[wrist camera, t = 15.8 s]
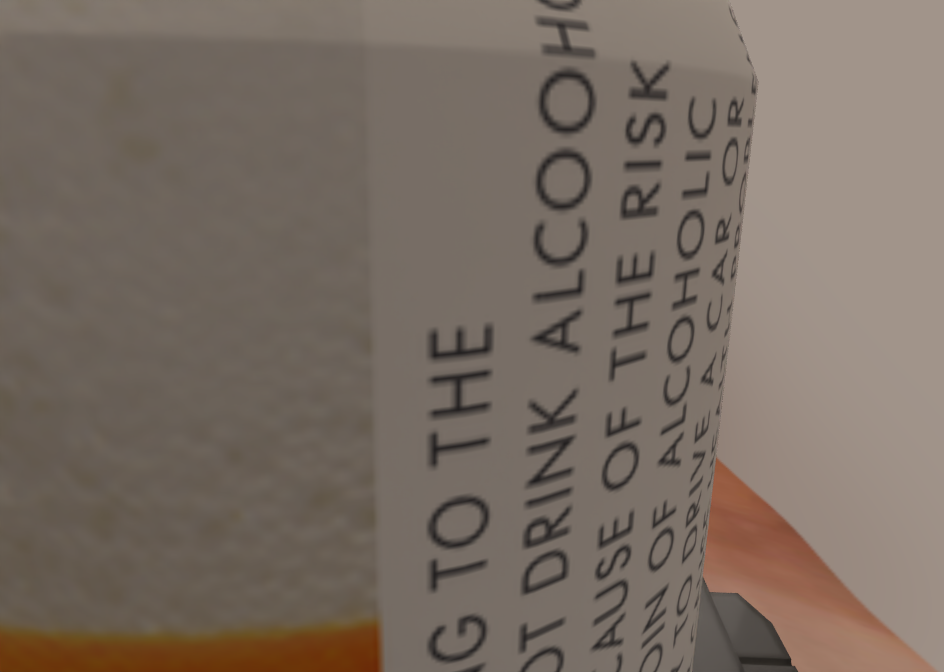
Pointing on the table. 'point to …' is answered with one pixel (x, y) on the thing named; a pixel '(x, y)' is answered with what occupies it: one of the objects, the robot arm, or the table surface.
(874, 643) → the table surface
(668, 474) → the beer can
